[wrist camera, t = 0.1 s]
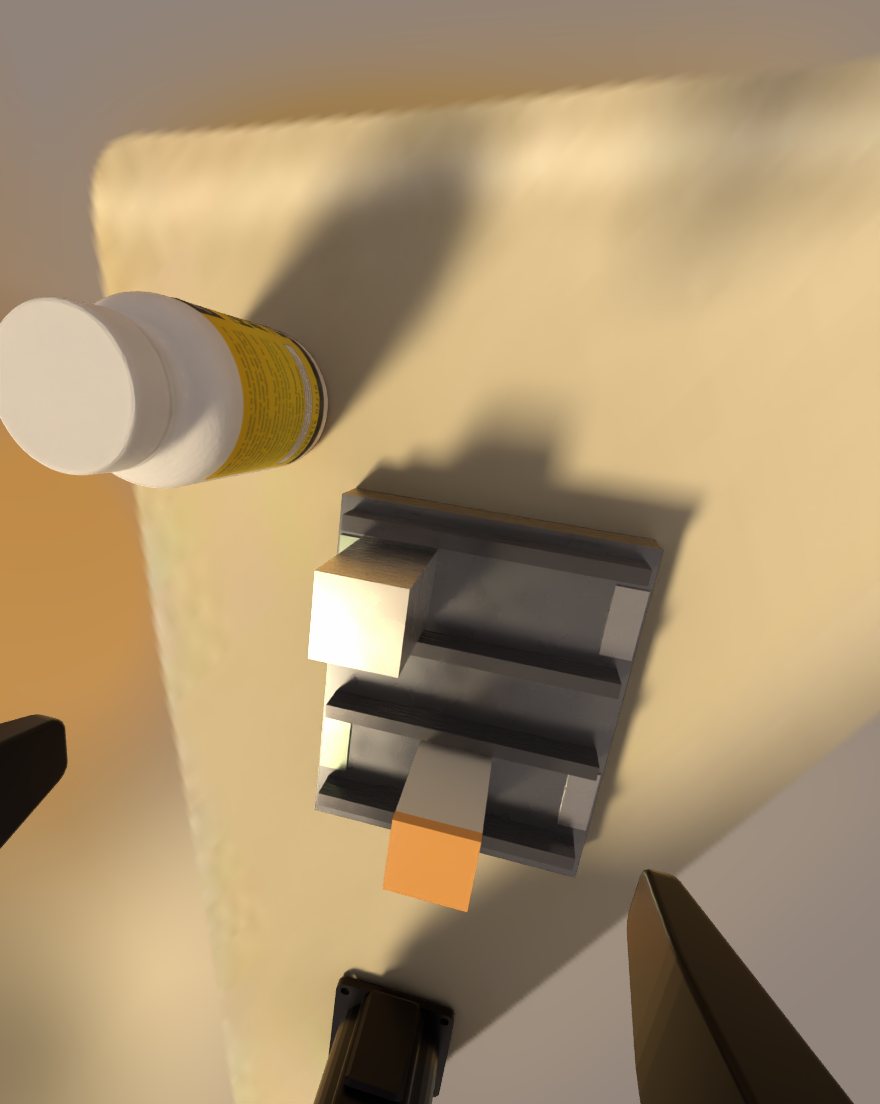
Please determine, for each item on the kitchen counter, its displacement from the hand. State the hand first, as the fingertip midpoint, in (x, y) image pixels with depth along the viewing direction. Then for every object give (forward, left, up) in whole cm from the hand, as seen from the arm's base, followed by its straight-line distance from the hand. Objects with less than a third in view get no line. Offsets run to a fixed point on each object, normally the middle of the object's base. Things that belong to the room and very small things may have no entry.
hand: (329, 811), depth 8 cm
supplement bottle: (+5, +9, -15) cm, 18 cm away
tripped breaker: (-9, -1, -13) cm, 16 cm away
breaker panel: (-5, -1, -14) cm, 16 cm away
